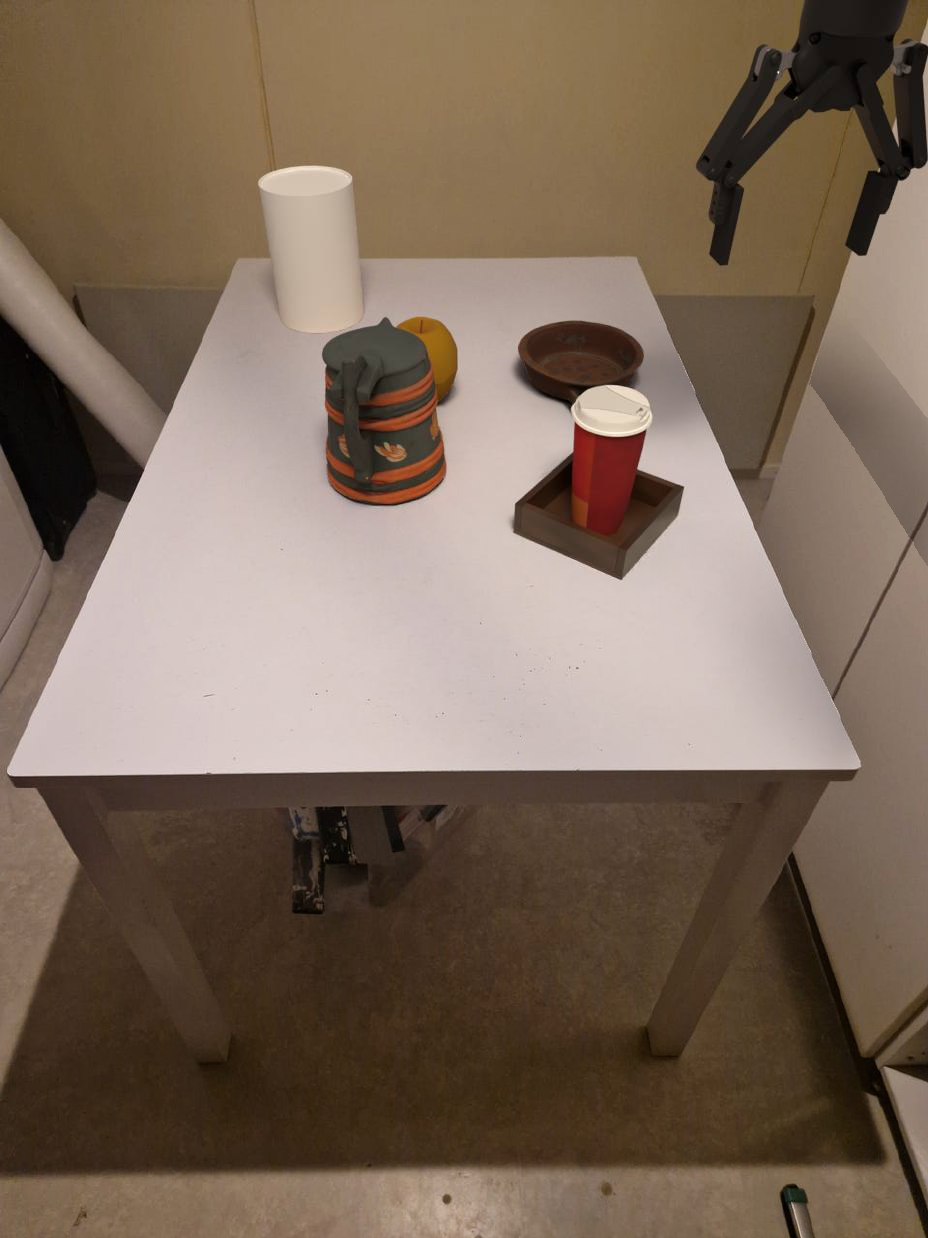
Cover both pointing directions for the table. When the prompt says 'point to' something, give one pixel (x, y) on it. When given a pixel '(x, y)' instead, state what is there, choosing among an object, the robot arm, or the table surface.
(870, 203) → the robot arm
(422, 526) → the table surface
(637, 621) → the table surface
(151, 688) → the table surface
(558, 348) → the dish
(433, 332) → the apple
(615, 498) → the coffee cup
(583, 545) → the square wooden tray
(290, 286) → the canister
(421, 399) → the beer stein
